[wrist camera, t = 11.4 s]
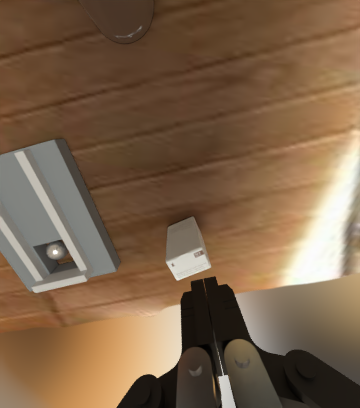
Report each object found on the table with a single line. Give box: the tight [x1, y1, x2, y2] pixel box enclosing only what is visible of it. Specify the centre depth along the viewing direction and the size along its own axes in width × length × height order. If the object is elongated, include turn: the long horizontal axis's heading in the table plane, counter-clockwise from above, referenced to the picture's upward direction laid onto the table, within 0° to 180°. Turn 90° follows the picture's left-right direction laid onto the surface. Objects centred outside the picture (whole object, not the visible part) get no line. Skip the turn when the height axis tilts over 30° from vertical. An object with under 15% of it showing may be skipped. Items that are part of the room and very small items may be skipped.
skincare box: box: [166, 216, 211, 281], centre depth 33 cm, size 6×4×12 cm
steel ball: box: [46, 240, 69, 260], centre depth 38 cm, size 4×4×4 cm
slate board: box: [0, 139, 120, 293], centre depth 35 cm, size 27×20×6 cm
